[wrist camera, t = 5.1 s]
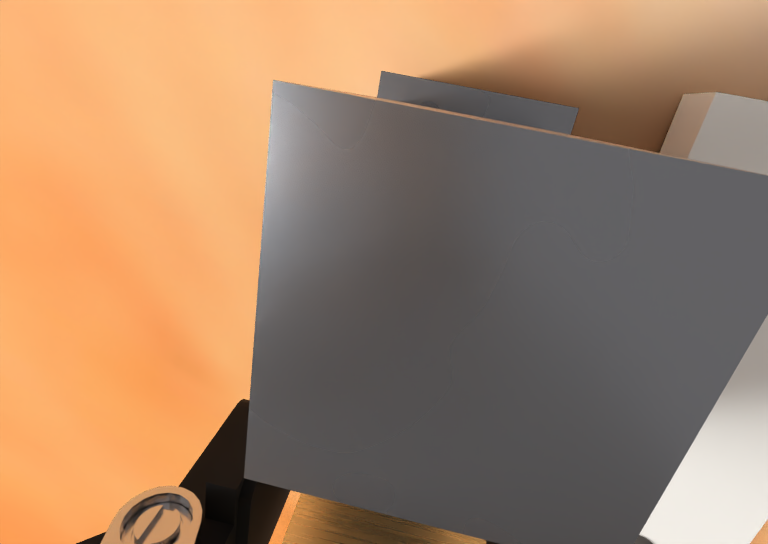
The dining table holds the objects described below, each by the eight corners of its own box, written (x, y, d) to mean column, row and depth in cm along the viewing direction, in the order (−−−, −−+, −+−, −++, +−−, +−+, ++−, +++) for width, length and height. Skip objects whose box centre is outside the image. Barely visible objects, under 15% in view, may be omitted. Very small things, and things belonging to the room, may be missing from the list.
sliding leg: (355, 294, 13) (184, 642, 4) (591, 347, 12) (893, 843, 4) (337, 401, 14) (184, 812, 6) (547, 451, 14) (699, 973, 5)
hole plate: (683, 94, 11) (718, 91, 10) (962, 145, 11) (1041, 150, 9) (497, 548, 18) (501, 586, 17) (665, 591, 18) (685, 634, 16)
